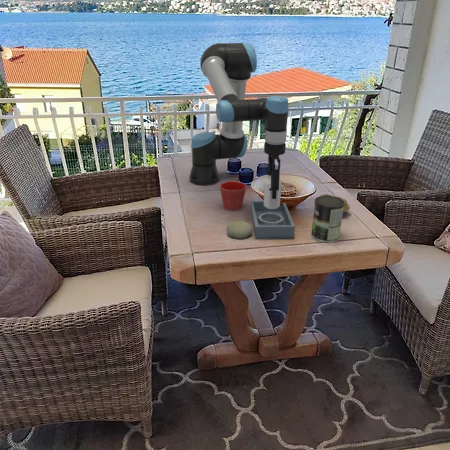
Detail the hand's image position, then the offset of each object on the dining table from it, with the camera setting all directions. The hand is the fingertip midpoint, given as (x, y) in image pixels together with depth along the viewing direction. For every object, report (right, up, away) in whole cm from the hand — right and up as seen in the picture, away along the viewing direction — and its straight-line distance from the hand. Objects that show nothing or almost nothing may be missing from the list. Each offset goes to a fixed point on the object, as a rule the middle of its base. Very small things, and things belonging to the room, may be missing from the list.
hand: (271, 202), depth 154 cm
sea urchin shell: (-12, -12, -3) cm, 18 cm away
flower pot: (-14, -1, +20) cm, 25 cm away
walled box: (0, -9, +4) cm, 9 cm away
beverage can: (0, -2, +1) cm, 2 cm away
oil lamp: (+27, -3, +16) cm, 31 cm away
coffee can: (+19, -13, -4) cm, 24 cm away
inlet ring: (0, -9, +4) cm, 9 cm away
